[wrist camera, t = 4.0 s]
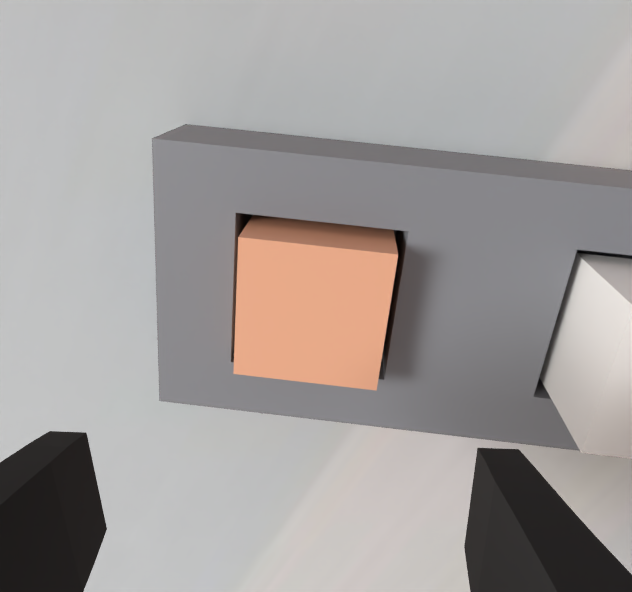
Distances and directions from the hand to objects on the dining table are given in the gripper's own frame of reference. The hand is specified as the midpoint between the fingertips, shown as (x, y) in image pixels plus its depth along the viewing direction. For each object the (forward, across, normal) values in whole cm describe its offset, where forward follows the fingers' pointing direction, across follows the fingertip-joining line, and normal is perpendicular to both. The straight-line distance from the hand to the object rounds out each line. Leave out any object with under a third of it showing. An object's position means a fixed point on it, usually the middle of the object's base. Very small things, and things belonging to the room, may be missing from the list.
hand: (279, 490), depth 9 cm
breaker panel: (+10, -4, 0) cm, 11 cm away
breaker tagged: (+10, 0, 0) cm, 10 cm away
